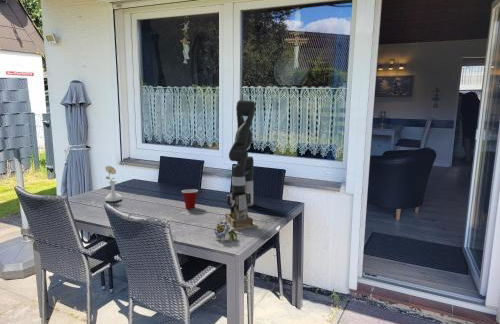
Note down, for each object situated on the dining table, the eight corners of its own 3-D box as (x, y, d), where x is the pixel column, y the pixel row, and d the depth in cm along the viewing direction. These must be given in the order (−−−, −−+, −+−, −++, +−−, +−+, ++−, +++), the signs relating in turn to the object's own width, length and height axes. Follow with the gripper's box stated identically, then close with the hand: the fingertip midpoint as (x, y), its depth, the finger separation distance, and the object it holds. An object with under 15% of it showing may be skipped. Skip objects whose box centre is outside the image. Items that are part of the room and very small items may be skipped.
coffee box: (248, 221, 211) (248, 193, 208) (238, 223, 207) (238, 195, 204) (239, 216, 218) (239, 190, 215) (230, 219, 215) (229, 192, 212)
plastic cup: (198, 204, 251) (197, 187, 248) (198, 209, 240) (198, 191, 238) (182, 205, 249) (181, 188, 247) (181, 210, 238) (181, 192, 236)
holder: (221, 221, 218) (221, 214, 217) (246, 218, 223) (246, 211, 223) (230, 230, 203) (230, 222, 202) (257, 226, 209) (257, 219, 208)
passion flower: (219, 250, 190) (207, 231, 191) (232, 240, 198) (219, 221, 199) (232, 243, 183) (219, 223, 183) (245, 233, 191) (232, 214, 192)
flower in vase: (125, 200, 263) (123, 165, 258) (111, 203, 254) (108, 168, 249) (114, 197, 270) (112, 163, 266) (100, 200, 261) (97, 166, 257)
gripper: (228, 186, 203) (229, 215, 206) (252, 183, 208) (252, 211, 211) (224, 183, 210) (225, 211, 213) (248, 181, 215) (248, 208, 218)
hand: (238, 211), depth 212 cm, fingers closed on coffee box, 7 cm apart
